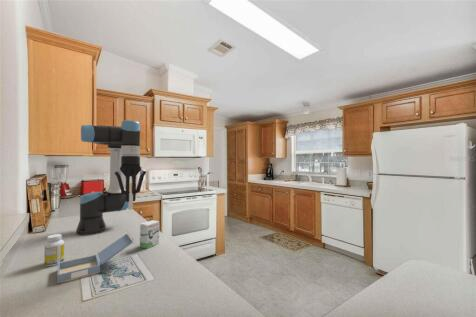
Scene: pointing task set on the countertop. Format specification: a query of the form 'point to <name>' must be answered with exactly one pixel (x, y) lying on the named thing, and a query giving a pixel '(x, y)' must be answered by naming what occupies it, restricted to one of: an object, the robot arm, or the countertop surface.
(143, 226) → the ink box
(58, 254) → the pill bottle
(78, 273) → the box
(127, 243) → the lid
